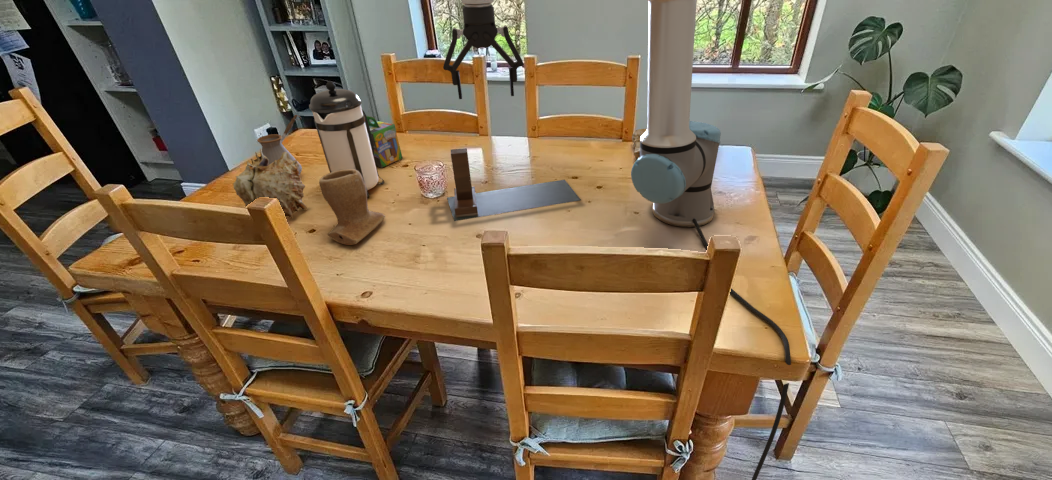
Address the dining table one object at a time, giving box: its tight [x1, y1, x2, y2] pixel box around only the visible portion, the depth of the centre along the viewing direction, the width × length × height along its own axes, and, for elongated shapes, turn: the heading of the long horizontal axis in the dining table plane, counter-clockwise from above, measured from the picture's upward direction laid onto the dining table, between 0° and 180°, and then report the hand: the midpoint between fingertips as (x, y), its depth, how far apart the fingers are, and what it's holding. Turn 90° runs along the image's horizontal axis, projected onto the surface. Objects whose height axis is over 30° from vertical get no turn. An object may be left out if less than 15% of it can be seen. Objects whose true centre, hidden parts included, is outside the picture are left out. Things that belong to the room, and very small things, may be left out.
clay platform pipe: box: [318, 169, 386, 246], centre depth 117 cm, size 15×12×15 cm
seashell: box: [232, 148, 308, 220], centre depth 125 cm, size 18×18×15 cm
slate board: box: [446, 179, 582, 222], centre depth 131 cm, size 14×34×2 cm, turn 108°
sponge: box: [631, 127, 647, 160], centre depth 157 cm, size 13×8×20 cm
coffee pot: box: [256, 114, 303, 175], centre depth 148 cm, size 21×12×15 cm, turn 172°
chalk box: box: [366, 115, 403, 169], centre depth 154 cm, size 9×9×15 cm
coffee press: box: [308, 81, 385, 199], centre depth 133 cm, size 17×16×30 cm
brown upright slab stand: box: [450, 147, 478, 217], centre depth 124 cm, size 12×6×15 cm, turn 10°
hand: (486, 96), depth 129 cm, fingers open, 13 cm apart
